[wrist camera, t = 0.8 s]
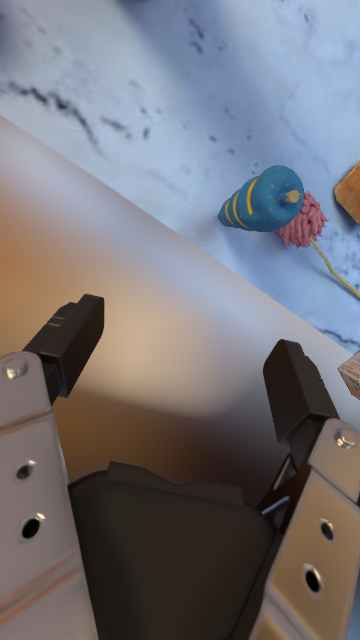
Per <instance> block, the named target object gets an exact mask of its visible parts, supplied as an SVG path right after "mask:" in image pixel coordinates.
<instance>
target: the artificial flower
mask: <svg viewBox="0 0 360 640" xmlns="http://www.w3.org/2000/svg"><path fill="white" fill-rule="evenodd" d="M306 194H307V192H306V193H305V194H304V201H303V205H302V208H301V210H300V212H299V213H298V215H297V216H296V217H295V218H294V219H293V220H292V221H291V222H290V223H288V224H287V225H285V226H284V227H282V228H280V229H277V230H276V231H279V234H281V235H280V236H281V237H282V238H283V240H284V242H285V243H286V245H287V247H286V249H287V248H288V246H289V243H292V244H295V245H296V247H297V249H298V248H299V247H300V245H301V246H303V247H307V246H308V247H309V243H310V244H311V242H312V244H313V245H314V247H315V249H316V250H317V252H318V253H319V254H320V255H321V256H322V257H323V258H324V260H325V262H326V264H327V266H328V268H329V270H330V272H331V273H332V274H333V275H334V276H335V277H336V278H337V279H338V280H339V281H341V282H342V283H343V284H344V285H345V286H346V287H347V288H348V289H350V290H351V291H352V292H353V293H354V294H355V295H356V296H357V297H359V298H360V293H359V292H358V291H357V290H356V289H355V288H354V287H353V286H351V285H350V284H349V283H348V282H347V281H346V280H344V279H343V278H342V277H341V276H340V275H338V274H337V273H336V272H335V271H334V270H333V268H332V266H331V265H330V263H329V261H328V259H327V258H326V257H325V255H324V254H323V253H322V252H321V251H320V250H319V249H318V247H317V246H316V244H315V241H318V240H317V239H316V237H317V234H318V235H319V236H322V235H321V231H322V227H324V226H325V225H324V221H328V219H326V218H325V217H324V215H323V213H322V211H321V210H320V209H321V208H320V204H319V203H318V202H316V201H315V199H314V198H313V197H312V196H311V194H310V192H308V196H307V195H306ZM279 234H278V235H279ZM281 237H280V238H281ZM313 240H314V241H313ZM306 245H307V246H306ZM303 247H302V248H303Z"/></svg>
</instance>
